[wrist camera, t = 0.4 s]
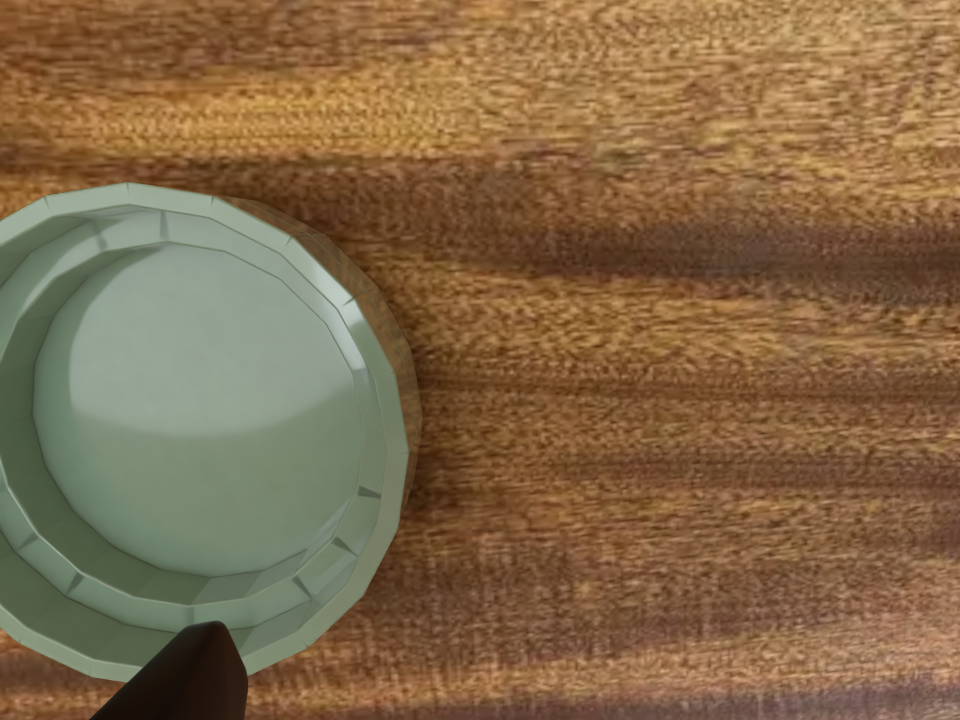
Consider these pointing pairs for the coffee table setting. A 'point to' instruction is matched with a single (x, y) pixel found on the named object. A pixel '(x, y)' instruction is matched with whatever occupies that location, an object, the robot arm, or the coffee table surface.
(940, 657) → the coffee table surface
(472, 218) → the coffee table surface
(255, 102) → the coffee table surface
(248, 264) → the bowl
